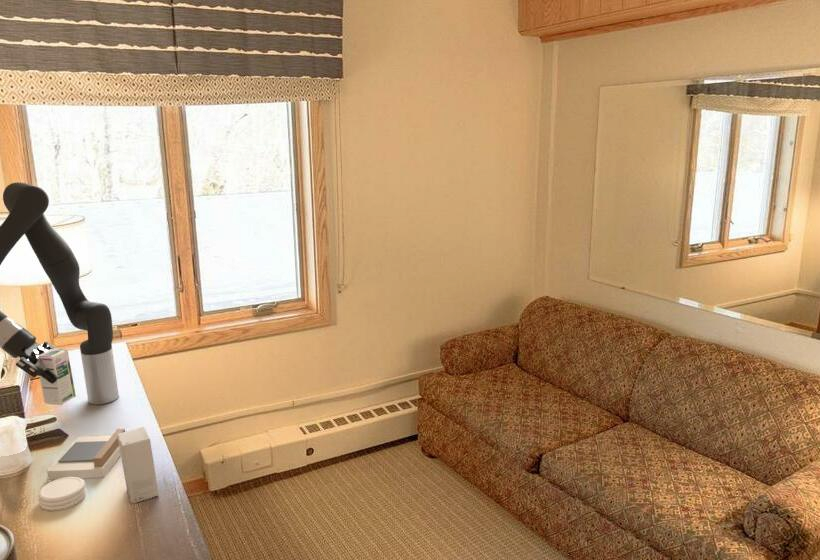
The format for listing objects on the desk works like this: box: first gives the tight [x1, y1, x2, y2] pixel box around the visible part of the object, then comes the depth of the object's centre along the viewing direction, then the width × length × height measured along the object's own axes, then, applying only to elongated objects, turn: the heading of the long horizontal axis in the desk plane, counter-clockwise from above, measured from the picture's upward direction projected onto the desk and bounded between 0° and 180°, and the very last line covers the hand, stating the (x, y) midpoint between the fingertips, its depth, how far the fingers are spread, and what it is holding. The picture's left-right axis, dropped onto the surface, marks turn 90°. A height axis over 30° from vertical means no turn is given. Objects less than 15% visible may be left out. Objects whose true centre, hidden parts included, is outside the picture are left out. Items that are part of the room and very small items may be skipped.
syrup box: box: [38, 348, 77, 406], centre depth 178 cm, size 6×6×14 cm
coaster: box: [38, 477, 87, 512], centre depth 154 cm, size 10×10×4 cm
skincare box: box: [117, 426, 160, 504], centre depth 155 cm, size 8×7×16 cm
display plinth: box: [46, 428, 126, 481], centre depth 172 cm, size 18×14×5 cm
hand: (61, 375), depth 178 cm, fingers closed on syrup box, 6 cm apart
